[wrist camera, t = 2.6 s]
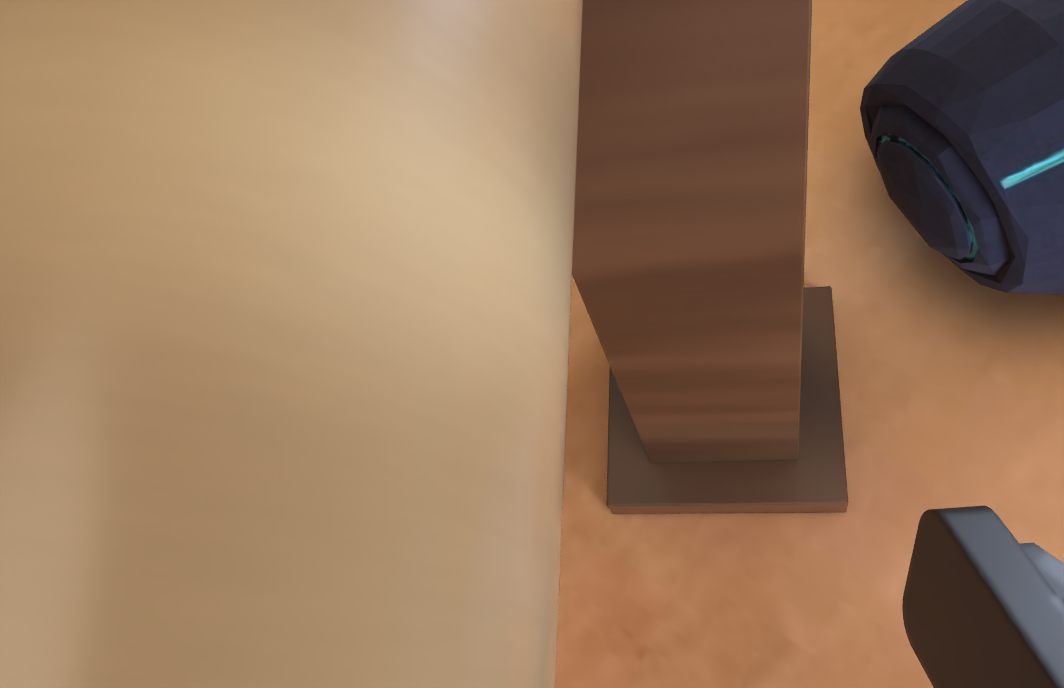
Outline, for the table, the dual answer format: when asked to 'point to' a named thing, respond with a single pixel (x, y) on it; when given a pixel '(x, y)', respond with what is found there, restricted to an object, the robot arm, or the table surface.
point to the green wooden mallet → (284, 341)
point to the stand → (705, 258)
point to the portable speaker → (979, 140)
